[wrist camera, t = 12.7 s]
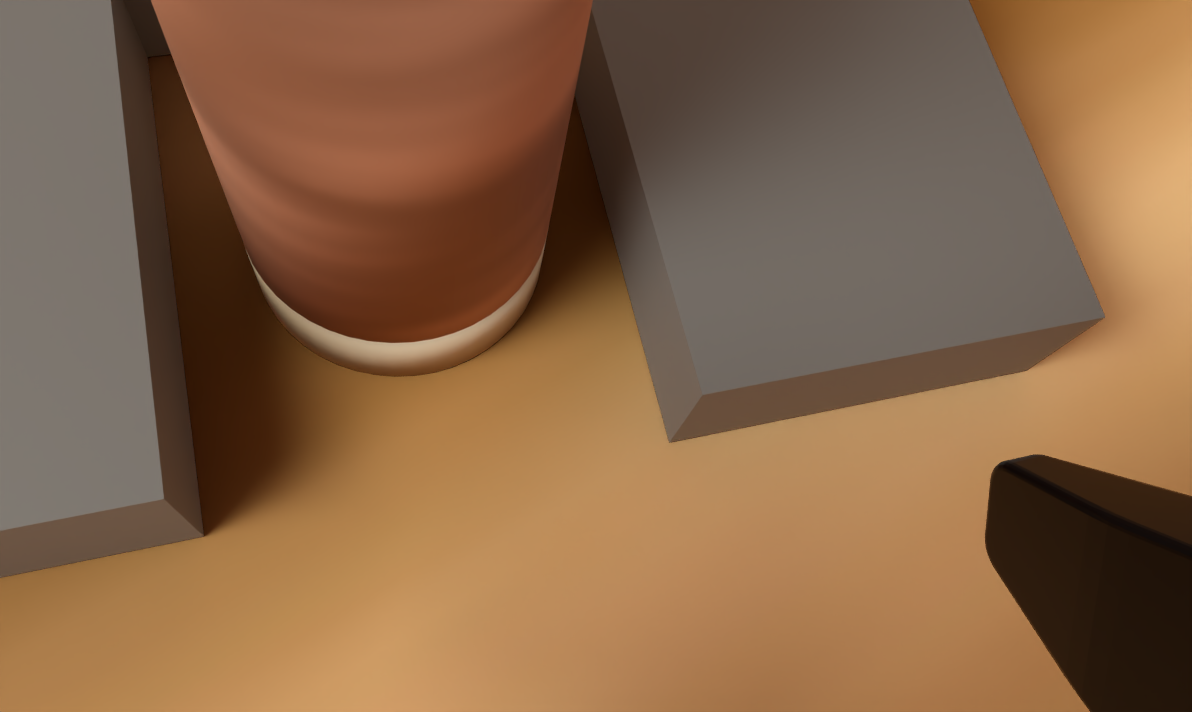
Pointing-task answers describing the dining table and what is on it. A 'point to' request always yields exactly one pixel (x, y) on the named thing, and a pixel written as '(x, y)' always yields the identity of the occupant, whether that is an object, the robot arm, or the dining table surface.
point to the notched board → (635, 212)
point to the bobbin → (386, 161)
